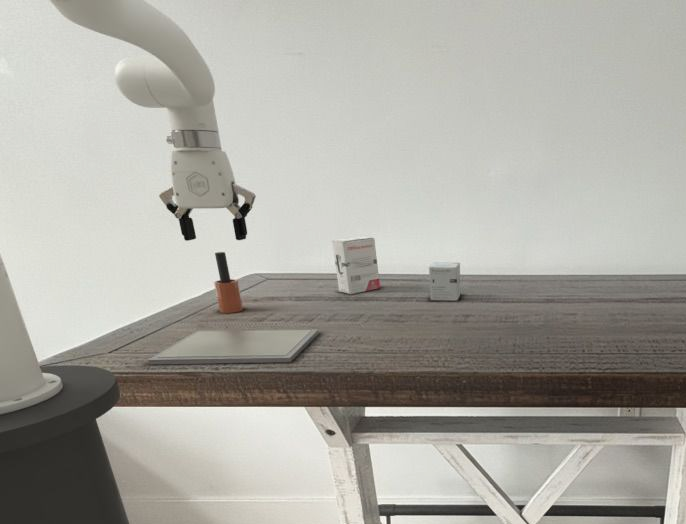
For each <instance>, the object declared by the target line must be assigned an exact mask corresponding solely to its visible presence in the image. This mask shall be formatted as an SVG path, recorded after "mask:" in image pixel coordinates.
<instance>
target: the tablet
mask: <svg viewBox="0 0 686 524" xmlns="http://www.w3.org/2000/svg"><path fill="white" fill-rule="evenodd" d="M319 334H320V332H319V329H316V328H315V329H264V330H263V329H260V330H258V329H257V330H256V329H254V330H253V329H249V330H246V329H245V330H196V331H195V332H193V333H191V334H189V335H187V336H186V337H184V338H183V339H181V340H179V341H178V342H175V343H174V344H172V345H170V346H169V347H167V348H165V349H164V350H162V351H160V352H158V353H157V354H155V355H154V356H152V357H150V358H149V359H147V361H148V365H202V364H203V365H205V364H207V365H208V364H209V365H211V364H261V363H262V364H267V363H268V364H269V363H270V364H275V363H292V362H293V361H294V360H295V359H296V358H297V357H298V355H300V354H301V353H302V352H303V351H304V349H305V348H307V347H308V346H309V345H310V343H311V342H312V341H313V340H314V339H316V337H317V336H318V335H319Z"/></svg>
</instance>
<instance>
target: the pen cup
mask: <svg viewBox="0 0 686 524" xmlns="http://www.w3.org/2000/svg"><path fill="white" fill-rule="evenodd" d="M230 280H231V282H229V283H221V281H220V279H219V280H215V281H214V282H213V285H214V289H215V295H216V299H217V303H218V309H219V312H220V313H222V314H235V313H238V312H242V311H243V310H244V308H243V302H242V301H243V300H242V296H241V290H240V286H239V281H238V279H234V278H230Z"/></svg>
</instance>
